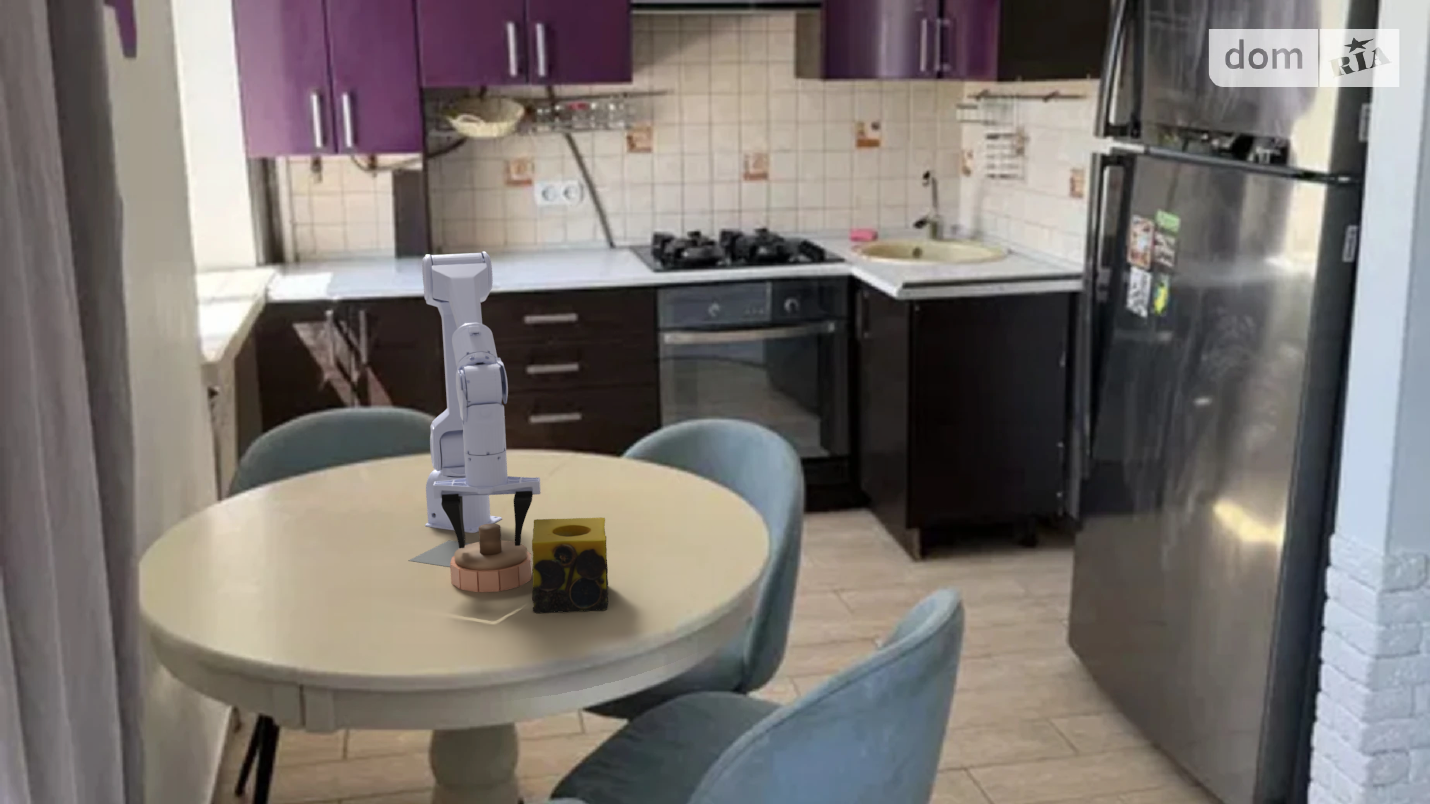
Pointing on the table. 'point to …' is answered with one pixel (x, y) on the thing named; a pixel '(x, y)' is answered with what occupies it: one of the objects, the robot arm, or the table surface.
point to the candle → (569, 565)
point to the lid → (490, 551)
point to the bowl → (491, 577)
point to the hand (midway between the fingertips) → (490, 544)
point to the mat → (439, 554)
